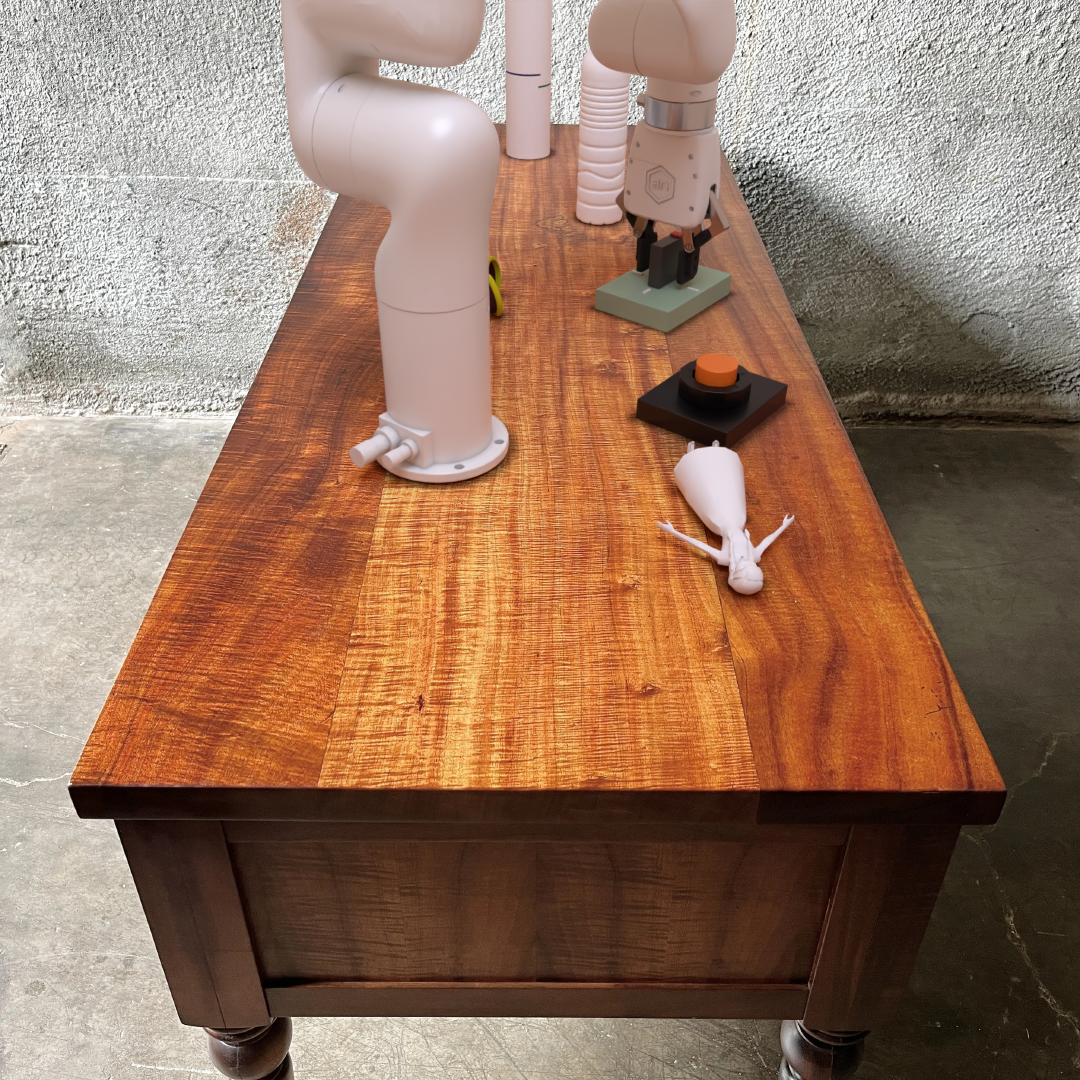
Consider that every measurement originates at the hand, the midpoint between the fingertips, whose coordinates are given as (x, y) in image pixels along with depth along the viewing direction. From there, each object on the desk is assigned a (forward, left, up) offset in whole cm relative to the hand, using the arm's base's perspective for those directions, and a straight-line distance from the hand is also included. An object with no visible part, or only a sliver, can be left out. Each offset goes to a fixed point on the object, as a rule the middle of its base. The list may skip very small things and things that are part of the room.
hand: (665, 273), depth 122 cm
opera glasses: (-15, +16, -4) cm, 22 cm away
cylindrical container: (+35, +49, -4) cm, 60 cm away
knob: (0, 0, -1) cm, 1 cm away
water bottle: (+19, +23, -4) cm, 30 cm away
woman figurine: (-36, -29, -4) cm, 46 cm away
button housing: (-19, -18, -3) cm, 26 cm away
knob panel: (0, 0, -3) cm, 3 cm away
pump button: (-19, -18, 0) cm, 26 cm away
